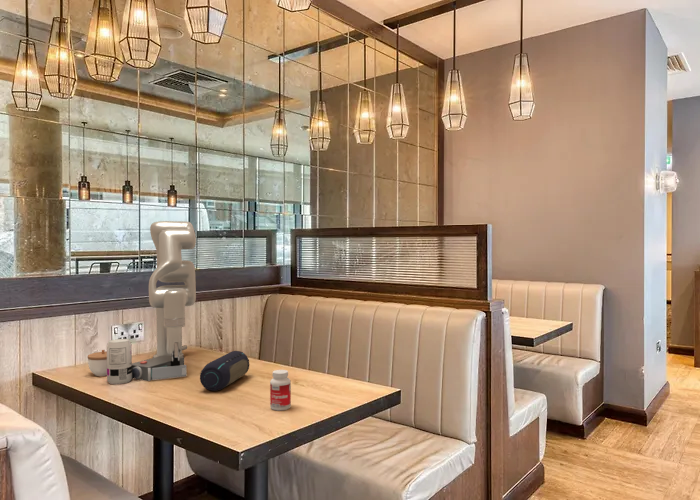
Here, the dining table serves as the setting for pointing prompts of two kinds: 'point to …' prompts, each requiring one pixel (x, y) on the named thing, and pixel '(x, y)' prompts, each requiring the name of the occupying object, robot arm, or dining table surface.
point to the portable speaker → (224, 370)
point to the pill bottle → (280, 390)
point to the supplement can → (119, 361)
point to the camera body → (151, 366)
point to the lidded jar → (98, 363)
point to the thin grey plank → (168, 372)
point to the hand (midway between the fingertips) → (175, 371)
